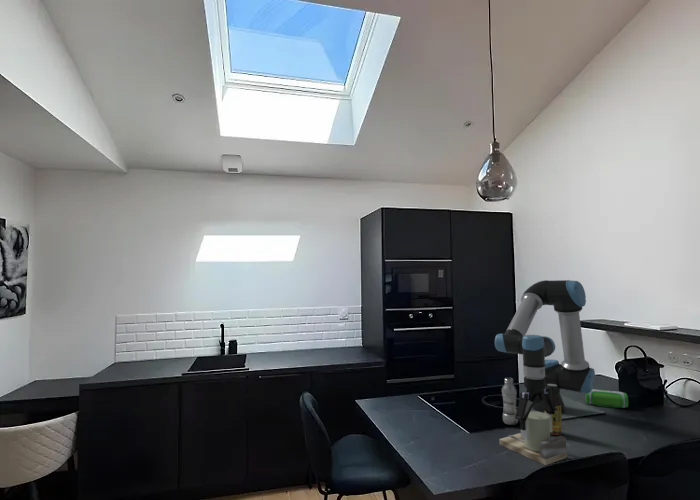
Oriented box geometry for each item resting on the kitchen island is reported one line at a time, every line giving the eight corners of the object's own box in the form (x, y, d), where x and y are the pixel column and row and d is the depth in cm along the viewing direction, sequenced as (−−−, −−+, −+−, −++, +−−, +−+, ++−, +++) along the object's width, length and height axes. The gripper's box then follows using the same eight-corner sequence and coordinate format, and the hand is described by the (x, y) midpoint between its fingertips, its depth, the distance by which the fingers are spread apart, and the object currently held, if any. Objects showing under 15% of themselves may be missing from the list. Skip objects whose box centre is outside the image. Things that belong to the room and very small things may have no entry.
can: (532, 452, 144) (531, 419, 145) (519, 442, 154) (518, 410, 154) (556, 451, 145) (555, 417, 146) (542, 441, 154) (541, 409, 155)
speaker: (626, 406, 200) (625, 390, 200) (629, 410, 193) (628, 394, 193) (585, 401, 207) (584, 386, 208) (586, 405, 201) (586, 390, 201)
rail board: (499, 444, 157) (498, 426, 158) (519, 437, 163) (519, 420, 164) (545, 465, 140) (544, 444, 140) (566, 457, 146) (565, 437, 146)
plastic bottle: (517, 422, 180) (516, 377, 181) (518, 427, 174) (517, 381, 175) (502, 420, 182) (500, 376, 183) (503, 426, 176) (501, 379, 177)
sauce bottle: (555, 437, 163) (553, 387, 164) (541, 432, 169) (539, 384, 170) (565, 434, 166) (563, 385, 167) (552, 429, 172) (549, 382, 173)
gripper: (520, 384, 142) (523, 445, 140) (564, 374, 154) (566, 431, 152) (503, 379, 148) (505, 438, 147) (546, 370, 160) (548, 424, 159)
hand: (536, 434), depth 150 cm, fingers open, 13 cm apart
